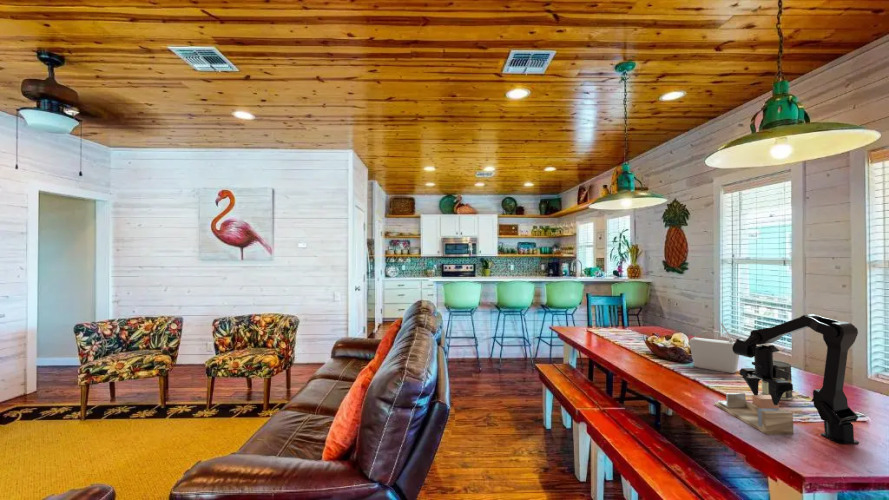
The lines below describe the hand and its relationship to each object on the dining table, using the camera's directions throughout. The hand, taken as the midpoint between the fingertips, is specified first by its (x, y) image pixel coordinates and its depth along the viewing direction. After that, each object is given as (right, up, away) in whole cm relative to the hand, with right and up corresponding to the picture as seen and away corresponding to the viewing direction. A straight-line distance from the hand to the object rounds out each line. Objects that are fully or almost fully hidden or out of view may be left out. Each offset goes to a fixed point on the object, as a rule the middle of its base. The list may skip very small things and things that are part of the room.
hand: (765, 400), depth 146 cm
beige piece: (-10, -5, -5) cm, 12 cm away
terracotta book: (0, -5, 0) cm, 5 cm away
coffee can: (+19, -4, +16) cm, 25 cm away
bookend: (-10, -4, +5) cm, 11 cm away
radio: (+19, -5, +54) cm, 57 cm away
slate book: (-10, -5, -14) cm, 18 cm away
